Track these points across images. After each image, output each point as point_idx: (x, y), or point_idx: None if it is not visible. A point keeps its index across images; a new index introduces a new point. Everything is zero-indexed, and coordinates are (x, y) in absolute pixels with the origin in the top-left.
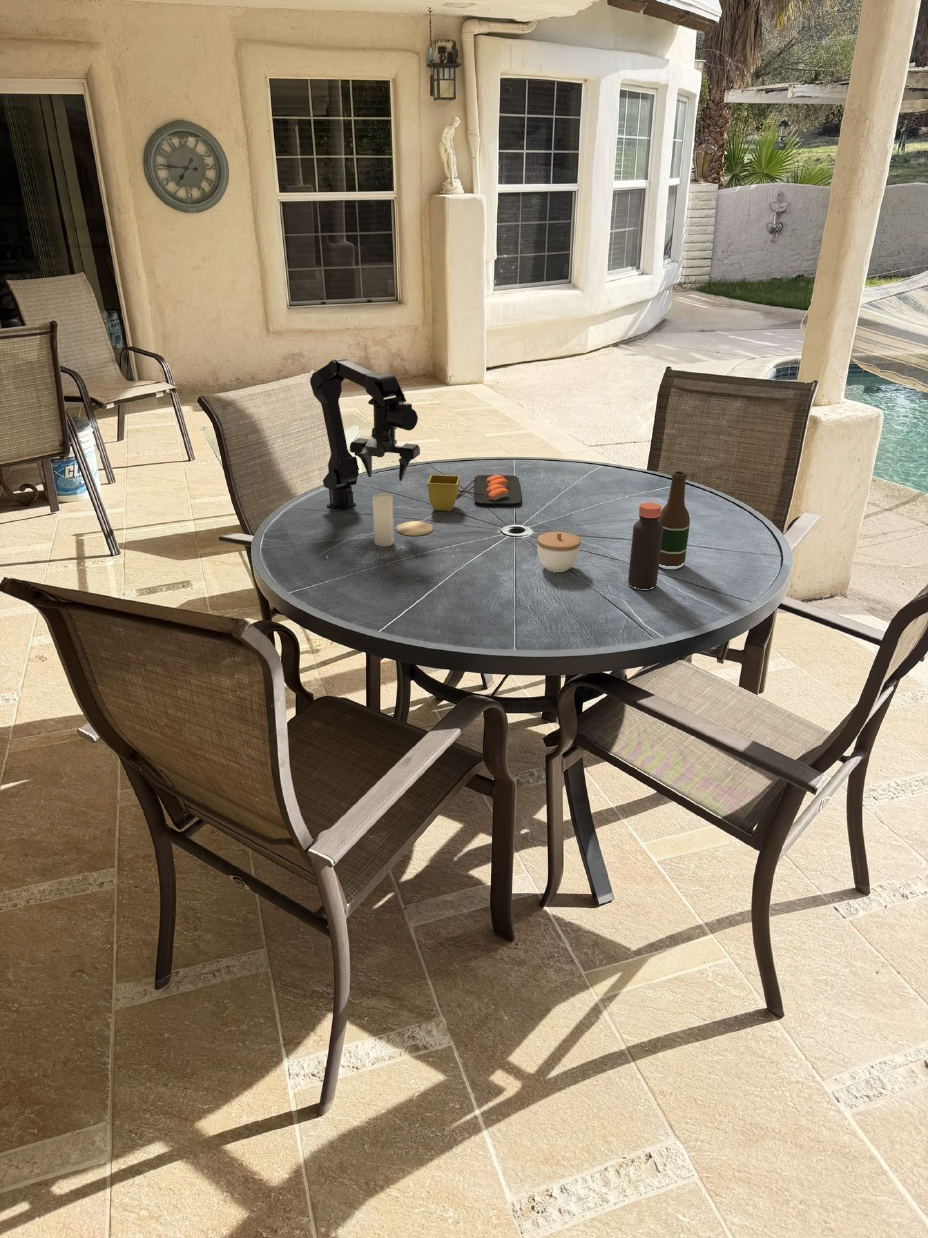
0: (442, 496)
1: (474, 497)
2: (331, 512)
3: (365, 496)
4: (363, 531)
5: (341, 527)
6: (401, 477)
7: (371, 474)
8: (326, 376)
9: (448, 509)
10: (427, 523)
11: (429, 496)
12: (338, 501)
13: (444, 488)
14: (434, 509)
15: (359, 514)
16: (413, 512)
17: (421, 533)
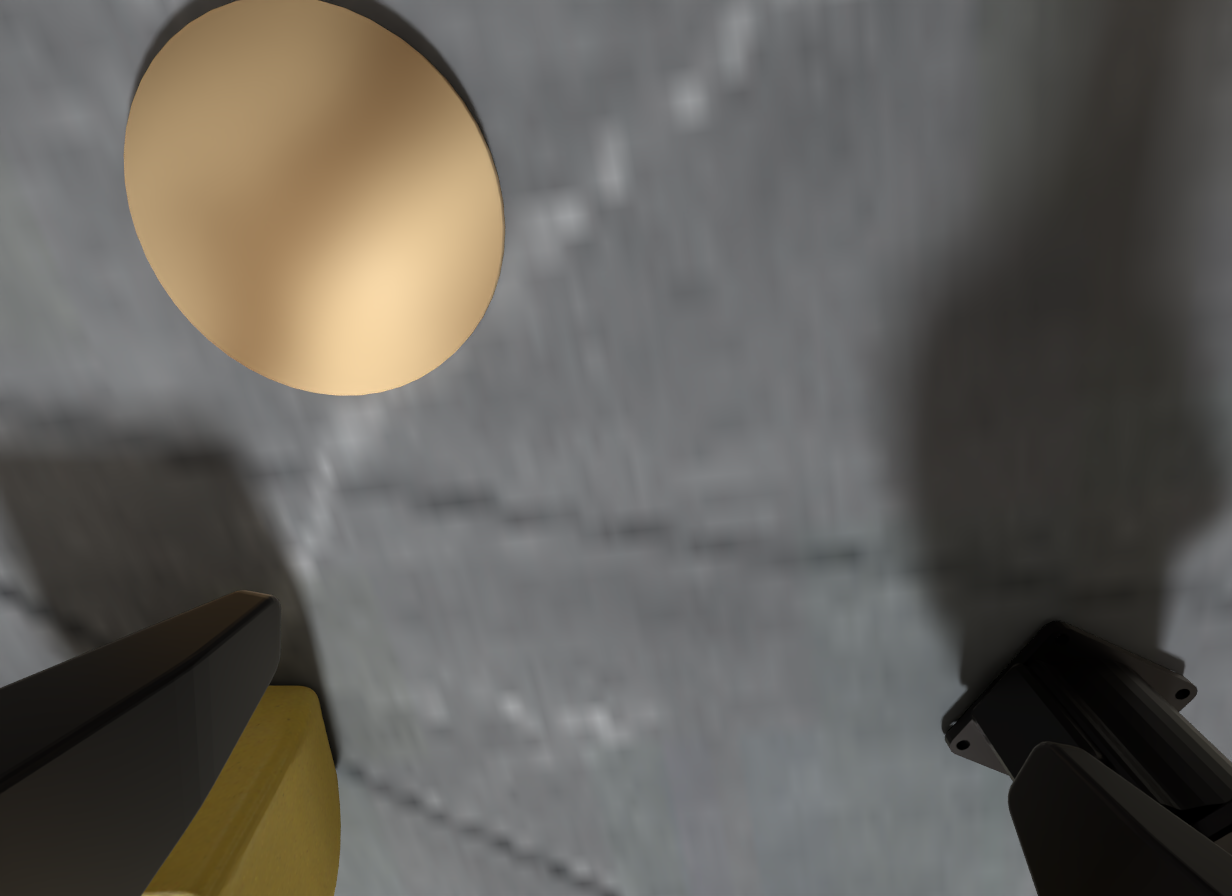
0: None
1: None
2: (1153, 572)
3: (878, 880)
4: (841, 82)
5: (1081, 185)
6: (140, 631)
7: (1020, 841)
8: None
9: None
10: (232, 348)
11: (276, 762)
12: (1132, 695)
13: None
14: (310, 689)
15: (906, 551)
16: (465, 634)
17: (184, 33)
